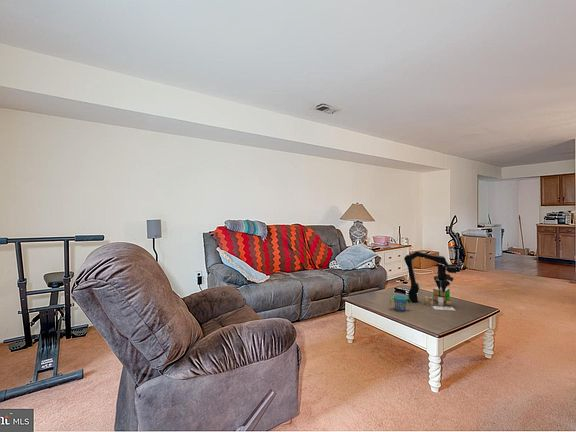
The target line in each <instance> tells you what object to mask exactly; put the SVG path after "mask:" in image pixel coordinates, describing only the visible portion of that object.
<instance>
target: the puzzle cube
mask: <svg viewBox="0 0 576 432" xmlns="http://www.w3.org/2000/svg"><path fill="white" fill-rule="evenodd" d="M450 292H451V291H450V288H449V287H448V288H447V287H446V289H445V292H444V293H443V292H442V289H441V287H440V289H438V287H437V286H436V287H434V288H433V292H432V293H433V295H432V298H433V301H435V302H438V297H443V304H444V303H445V304H446V302H447V301H450V300H451V299H450V298H451V297H450V296H451V295H450Z"/></svg>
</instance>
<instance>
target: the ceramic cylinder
mask: <svg viewBox="0 0 576 432" xmlns="http://www.w3.org/2000/svg"><path fill="white" fill-rule="evenodd" d="M437 306H443V307H444V302H443V297H438V301H437Z"/></svg>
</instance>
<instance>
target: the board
mask: <svg viewBox="0 0 576 432" xmlns="http://www.w3.org/2000/svg"><path fill="white" fill-rule="evenodd" d="M431 308H432V309H433V310H434V311H450V312H456V310H457V309H455V308H454V307H453V306H444V305H443V306H439V305H433V306H431Z"/></svg>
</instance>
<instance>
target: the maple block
mask: <svg viewBox="0 0 576 432" xmlns="http://www.w3.org/2000/svg"><path fill="white" fill-rule="evenodd" d="M424 304H425V305H426V306H431V307H432V306H434V300H433V296H428V295H427V296H426V295H425V296H424Z"/></svg>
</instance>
